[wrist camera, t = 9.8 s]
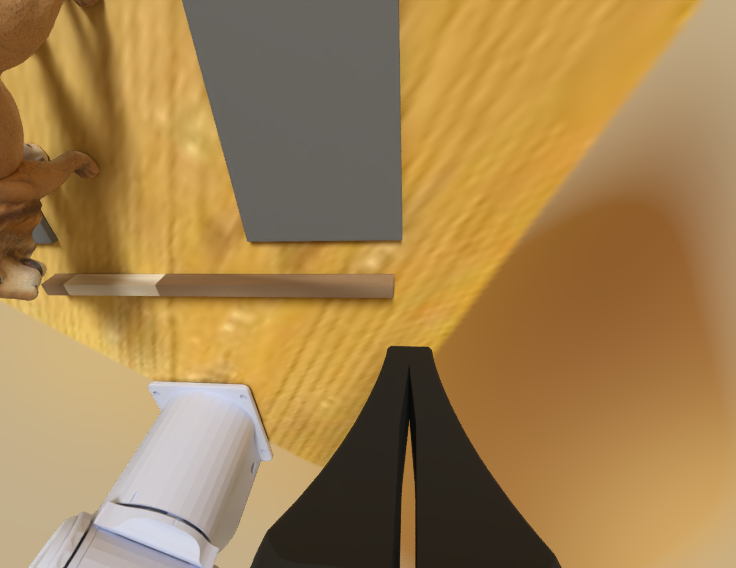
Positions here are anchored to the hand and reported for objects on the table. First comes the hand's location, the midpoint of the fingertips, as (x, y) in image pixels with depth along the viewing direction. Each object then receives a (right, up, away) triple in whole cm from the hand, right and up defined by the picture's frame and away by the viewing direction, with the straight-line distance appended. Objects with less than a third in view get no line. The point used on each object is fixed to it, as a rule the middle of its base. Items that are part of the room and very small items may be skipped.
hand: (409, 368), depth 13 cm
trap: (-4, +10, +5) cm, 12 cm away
